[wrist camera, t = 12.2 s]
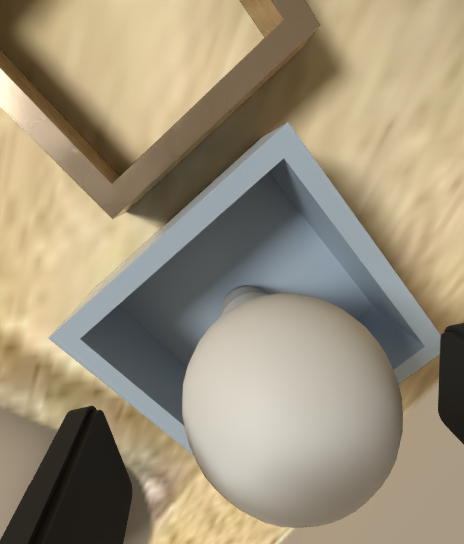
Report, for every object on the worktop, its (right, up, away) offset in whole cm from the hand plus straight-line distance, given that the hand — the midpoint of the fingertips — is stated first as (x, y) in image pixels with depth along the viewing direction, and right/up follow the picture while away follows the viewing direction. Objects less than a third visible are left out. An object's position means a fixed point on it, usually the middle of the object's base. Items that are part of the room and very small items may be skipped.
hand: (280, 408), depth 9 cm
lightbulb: (-1, +2, +9) cm, 9 cm away
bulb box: (-1, +2, +9) cm, 9 cm away
